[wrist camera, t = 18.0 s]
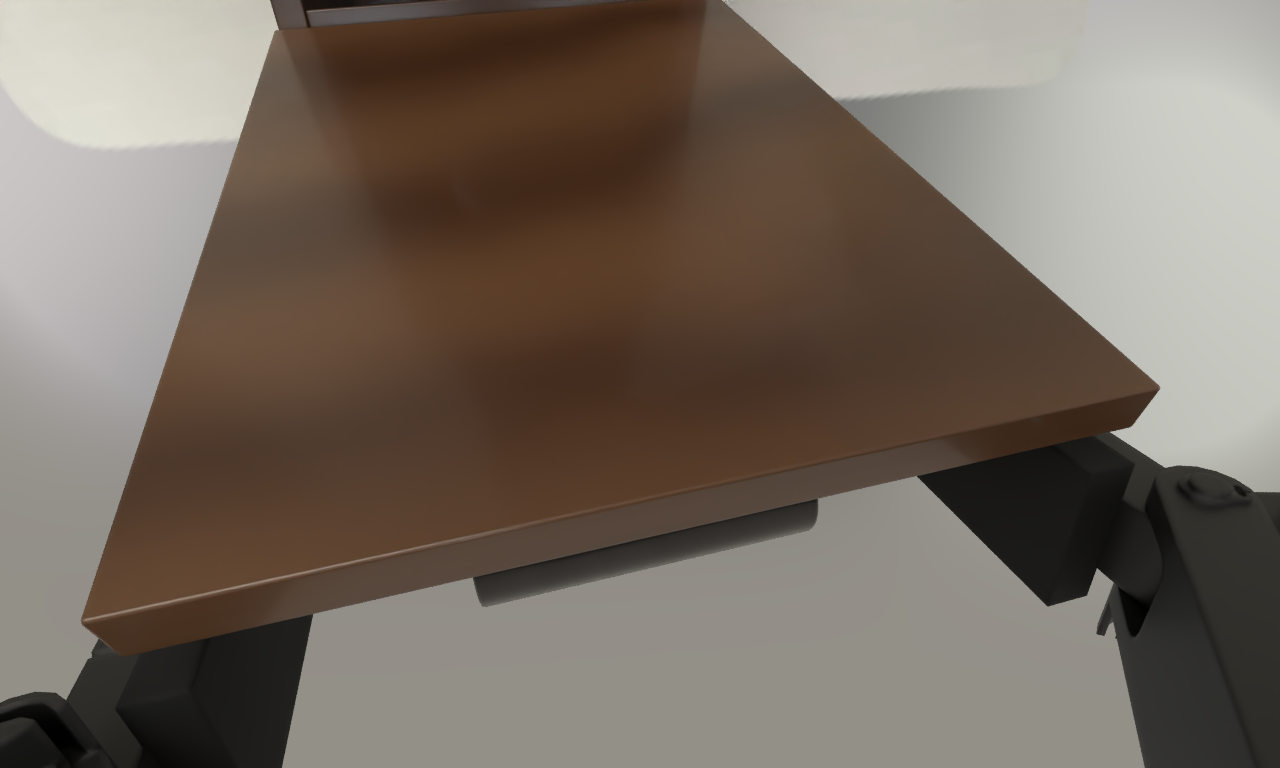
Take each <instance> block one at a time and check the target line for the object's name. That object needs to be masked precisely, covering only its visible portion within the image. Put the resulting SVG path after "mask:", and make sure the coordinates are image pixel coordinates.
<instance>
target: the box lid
mask: <svg viewBox="0 0 1280 768" xmlns="http://www.w3.org/2000/svg"><path fill="white" fill-rule="evenodd" d="M1159 390H1160V386H1159V385H1158V384H1157V383H1156V382H1154V381H1153V380H1152V379H1151V378H1150V377H1149V376H1148V375H1147V374H1145V373H1144V372H1143V371H1142V370H1141V369H1139V368H1138V367H1137V366H1136V365H1135V364H1134V363H1133V362H1132V361H1130V360H1129V359H1128V358H1127V357H1126V356H1125V355H1124V354H1123V353H1122V352H1120V351H1119V350H1118V349H1117V348H1116V347H1115V346H1113V345H1112V344H1111V343H1110V342H1109V341H1108V340H1107V339H1106V338H1105V337H1103V336H1102V335H1101V334H1100V333H1099V332H1098V331H1096V330H1095V329H1094V328H1093V327H1092V326H1091V325H1090V324H1089V323H1088V322H1086V321H1085V320H1084V319H1083V318H1082V317H1081V316H1080V315H1078V314H1077V313H1076V312H1075V311H1074V310H1073V309H1072V308H1070V307H1069V306H1068V305H1067V304H1066V303H1065V302H1064V301H1063V300H1061V299H1060V298H1059V297H1058V296H1057V295H1056V294H1054V293H1053V292H1052V291H1051V290H1050V289H1049V288H1048V287H1047V286H1046V285H1044V284H1043V283H1042V282H1041V281H1040V280H1039V279H1037V278H1036V277H1035V276H1034V275H1033V274H1032V273H1030V271H1028V270H1027V269H1026V268H1025V267H1024V266H1023V265H1022V264H1021V263H1019V262H1018V261H1017V260H1016V259H1015V258H1014V257H1013V256H1011V255H1010V254H1009V253H1008V252H1007V251H1006V250H1005V249H1004V248H1002V247H1001V246H1000V245H999V244H998V243H997V242H995V241H994V240H993V239H992V238H991V237H990V236H989V235H988V234H986V233H985V232H984V231H983V230H982V229H981V228H980V227H979V226H977V225H976V224H975V223H974V222H973V221H972V220H970V219H969V218H968V217H967V216H966V215H965V214H964V213H963V212H961V211H960V210H959V209H958V208H957V207H956V206H955V205H954V204H952V203H951V202H950V201H949V200H948V199H947V198H946V197H944V196H943V195H942V194H941V193H940V192H939V191H938V190H936V189H935V188H934V187H933V186H932V185H931V184H930V183H929V182H927V181H926V180H925V179H924V178H923V177H922V176H921V175H919V174H918V173H917V172H916V171H915V170H914V169H913V168H912V167H910V166H909V165H908V164H907V163H906V162H905V161H903V160H902V159H901V158H900V157H899V156H898V155H897V154H896V153H894V152H893V151H892V150H891V149H890V148H889V147H888V146H887V145H885V144H884V143H883V142H882V141H881V140H880V139H879V138H877V137H876V136H875V135H874V134H873V133H872V132H871V131H870V130H868V129H867V128H866V127H865V126H864V125H863V124H862V123H860V122H859V121H858V120H857V119H856V118H855V117H854V116H853V115H851V114H850V113H849V112H848V111H847V110H846V109H845V108H843V107H842V106H841V105H840V104H839V103H838V102H837V101H835V100H834V99H833V98H832V97H831V96H830V95H829V94H828V93H826V92H825V91H824V90H823V89H822V88H821V87H820V86H818V85H817V84H816V83H815V82H814V81H813V80H812V79H811V78H809V77H808V76H807V75H806V74H805V73H804V72H803V71H801V70H800V69H799V68H798V67H797V66H796V65H795V64H793V63H792V62H791V61H790V60H789V59H788V58H787V57H786V56H784V55H783V54H782V53H781V52H780V51H779V50H778V49H776V48H775V47H774V46H773V45H772V44H771V43H770V42H769V41H767V40H766V39H765V38H764V37H763V36H762V35H761V34H759V33H758V32H757V31H756V30H755V29H754V28H753V27H751V26H750V25H749V24H748V23H747V22H746V21H745V20H744V19H742V18H741V17H740V16H739V15H738V14H737V13H736V12H734V11H733V10H732V9H731V8H730V7H729V6H728V5H727V4H725V3H724V2H723V1H722V0H650V1H637V2H625V3H612V4H600V5H588V6H575V7H563V8H550V9H538V10H525V11H513V12H500V13H488V14H476V15H463V16H451V17H438V18H426V19H413V20H401V21H388V22H376V23H364V24H351V25H339V26H326V27H314V28H301V29H289V30H276V31H275V32H274V35H273V38H272V41H271V44H270V47H269V50H268V54H267V57H266V60H265V63H264V66H263V69H262V72H261V75H260V78H259V81H258V84H257V87H256V90H255V93H254V96H253V99H252V102H251V105H250V108H249V111H248V114H247V117H246V120H245V123H244V126H243V129H242V132H241V136H240V139H239V142H238V145H237V148H236V151H235V154H234V157H233V160H232V163H231V166H230V169H229V172H228V175H227V178H226V181H225V184H224V187H223V190H222V193H221V196H220V199H219V202H218V205H217V209H216V211H215V214H214V217H213V221H212V224H211V227H210V230H209V233H208V236H207V239H206V242H205V245H204V248H203V251H202V254H201V257H200V260H199V263H198V266H197V269H196V272H195V275H194V278H193V281H192V284H191V287H190V290H189V293H188V297H187V299H186V303H185V306H184V309H183V312H182V315H181V318H180V321H179V324H178V327H177V330H176V333H175V336H174V339H173V342H172V345H171V348H170V351H169V354H168V357H167V361H166V363H165V366H164V369H163V372H162V375H161V379H160V381H159V385H158V388H157V391H156V394H155V397H154V400H153V403H152V406H151V409H150V412H149V415H148V418H147V422H146V424H145V427H144V430H143V433H142V436H141V439H140V442H139V445H138V448H137V451H136V454H135V457H134V460H133V464H132V466H131V470H130V473H129V476H128V479H127V482H126V485H125V488H124V491H123V494H122V497H121V500H120V503H119V506H118V509H117V512H116V515H115V518H114V521H113V524H112V527H111V530H110V533H109V536H108V539H107V542H106V545H105V548H104V551H103V555H102V558H101V561H100V564H99V567H98V570H97V573H96V576H95V579H94V582H93V585H92V588H91V591H90V594H89V597H88V600H87V603H86V606H85V609H84V613H83V615H82V618H81V623H82V625H83V626H84V627H85V628H87V629H88V630H89V631H90V632H91V633H93V634H94V635H95V636H96V637H98V638H99V639H100V640H101V641H103V642H104V643H105V644H106V645H107V646H109V647H110V648H111V649H112V650H114V651H115V652H116V653H117V654H118V655H120V656H131V655H135V654H139V653H144V652H148V651H153V650H157V649H161V648H166V647H170V646H174V645H179V644H183V643H188V642H192V641H196V640H201V639H205V638H209V637H214V636H218V635H223V634H227V633H231V632H236V631H240V630H244V629H249V628H253V627H258V626H262V625H266V624H271V623H275V622H280V621H284V620H288V619H293V618H297V617H301V616H306V615H310V614H315V613H319V612H323V611H328V610H332V609H336V608H341V607H345V606H349V605H354V604H358V603H363V602H367V601H371V600H376V599H380V598H384V597H389V596H393V595H398V594H402V593H406V592H411V591H415V590H419V589H424V588H428V587H433V586H437V585H441V584H445V583H450V582H455V581H459V580H463V579H468V578H472V577H473V580H474V584H475V589H476V592H477V596H478V599H479V601H480V603H481V605H482V606H483V607H488V606H492V605H496V604H500V603H505V602H509V601H513V600H518V599H522V598H526V597H530V596H534V595H539V594H543V593H547V592H551V591H556V590H560V589H564V588H568V587H572V586H576V585H581V584H585V583H589V582H594V581H598V580H602V579H606V578H610V577H615V576H619V575H623V574H627V573H632V572H636V571H640V570H644V569H648V568H653V567H657V566H660V565H665V564H669V563H674V562H678V561H682V560H686V559H690V558H695V557H699V556H703V555H707V554H712V553H716V552H720V551H724V550H729V549H733V548H737V547H741V546H745V545H750V544H754V543H758V542H762V541H766V540H770V539H775V538H779V537H783V536H787V535H792V534H796V533H800V532H804V531H808V530H810V529H811V528H812V527H813V526H814V525H815V523H816V520H817V515H818V498H822V497H827V496H831V495H835V494H839V493H844V492H848V491H852V490H857V489H862V488H865V487H870V486H875V485H879V484H883V483H888V482H892V481H897V480H901V479H905V478H910V477H914V476H919V475H923V474H927V473H932V472H936V471H940V470H945V469H949V468H954V467H958V466H962V465H967V464H971V463H975V462H980V461H984V460H989V459H993V458H997V457H1002V456H1006V455H1010V454H1015V453H1019V452H1024V451H1028V450H1032V449H1037V448H1041V447H1046V446H1050V445H1054V444H1059V443H1063V442H1067V441H1072V440H1076V439H1081V438H1085V437H1089V436H1094V435H1098V434H1102V433H1107V432H1111V431H1116V430H1120V429H1124V428H1129V427H1131V426H1132V425H1133V424H1134V423H1135V421H1136V420H1137V419H1138V417H1139V416H1140V415H1141V413H1142V412H1143V411H1144V409H1145V408H1146V407H1147V405H1148V404H1149V403H1150V402H1151V400H1152V399H1153V398H1154V396H1155V395H1156V394H1157V392H1158V391H1159Z"/></svg>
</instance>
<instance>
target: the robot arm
mask: <svg viewBox="0 0 1280 768" xmlns="http://www.w3.org/2000/svg"><path fill="white" fill-rule="evenodd" d="M917 477H918V478H919V479H920V480H921V481H922V482H923V483H924V484H925V485H926V486H927V487H928V488H929V489H930V490H931V491H932V492H933V493H934V494H935V495H936V496H937V497H938V498H939V499H940V500H941V501H942V502H943V503H944V504H945V505H946V506H947V507H948V508H949V509H950V510H951V511H952V512H954V514H955V515H956V516H957V517H958V518H959V519H960V520H961V521H962V522H963V523H964V524H965V525H966V526H968V528H969V529H970V530H971V531H972V532H973V533H974V534H975V535H976V536H978V538H979V539H980V540H981V541H982V542H983V543H984V544H985V545H986V546H987V547H988V548H989V549H990V550H991V551H992V552H993V553H994V554H995V555H997V556H998V558H999V559H1001V560H1002V562H1003V563H1004V564H1005V565H1007V566H1008V567H1009V569H1010V570H1011V571H1012V572H1013V573H1014V574H1015V575H1017V576H1018V577H1019V578H1020V579H1021V580H1022V581H1023V582H1024V583H1025V584H1026V585H1027V586H1028V587H1029V588H1030V589H1031V590H1032V591H1033V592H1034V593H1035V594H1036V595H1037V596H1038V597H1039V598H1040V599H1041V600H1042V601H1043V602H1044V603H1045V604H1046V605H1047V606H1051V605H1055V604H1058V603H1062V602H1066V601H1069V600H1073V599H1076V598H1080V597H1084V596H1087V594H1088V591H1089V588H1090V585H1091V583H1092V580H1093V577H1094V574H1095V572H1096V569H1097V568H1098V569H1099V570H1100V571H1101V572H1102V573H1103V574H1105V575H1106V576H1107V577H1108V578H1109V579H1110V580H1112V581H1113V582H1114V584H1113V586H1112V589H1111V591H1110V594H1109V597H1108V599H1107V602H1106V604H1105V607H1104V610H1103V612H1102V614H1101V617H1100V620H1099V622H1098V626H1097V634H1098V635H1103V636H1104V635H1105V633H1106V630H1107V628H1108V625H1109V624H1110V623H1112V622H1113V623H1114V626H1115V632H1116V639H1117V641H1118V646H1119V650H1120V655H1121V660H1122V664H1123V669H1124V673H1125V678H1126V682H1127V687H1128V692H1129V696H1130V701H1131V706H1132V710H1133V715H1134V719H1135V724H1136V729H1137V734H1138V738H1139V742H1140V748H1141V752H1142V757H1143V761H1144V766H1145V768H1280V493H1276V492H1274V493H1273V492H1272V493H1271V492H1253V491H1252V490H1251V489H1250V488H1248V487H1247V486H1245V485H1244V484H1242V483H1241V482H1239V481H1237V480H1236V479H1234V478H1231V477H1229V476H1226V475H1224V474H1221V473H1219V472H1217V471H1212V470H1208V469H1204V468H1200V467H1193V466H1173V467H1168V468H1164V467H1163V466H1161V465H1160V464H1158V463H1157V462H1155V461H1153V460H1152V459H1150V458H1149V457H1147V456H1146V455H1144V454H1143V453H1141V452H1140V451H1138V450H1136V449H1135V448H1133V447H1132V446H1130V445H1129V444H1127V443H1126V442H1124V441H1122V440H1121V439H1119V438H1118V437H1116V436H1115V435H1113V434H1112V433H1110V432H1107V433H1102V434H1098V435H1094V436H1089V437H1085V438H1081V439H1076V440H1072V441H1067V442H1063V443H1059V444H1054V445H1050V446H1046V447H1041V448H1037V449H1032V450H1028V451H1024V452H1019V453H1015V454H1010V455H1006V456H1002V457H997V458H993V459H989V460H984V461H980V462H975V463H971V464H967V465H962V466H958V467H954V468H949V469H945V470H940V471H936V472H932V473H927V474H923V475H919V476H917ZM312 617H313V614H310V615H306V616H301V617H297V618H293V619H288V620H284V621H280V622H275V623H271V624H266V625H262V626H258V627H253V628H249V629H244V630H240V631H236V632H231V633H227V634H223V635H218V636H214V637H209V638H205V639H201V640H196V641H192V642H188V643H183V644H179V645H174V646H170V647H166V648H161V649H157V650H153V651H148V652H144V653H139V654H135V655H131V656H120V655H118V654H117V653H116V652H115V651H114V650H112V649H111V648H110V647H109V646H107V645H106V644H105V643H104V642H103V641H101V640H100V639H98V641H97V643H96V645H95V647H94V649H93V651H92V658H90V659H88V660H87V662H86V664H85V666H84V668H83V670H82V671H81V673H80V675H79V677H78V679H77V681H76V683H75V685H74V687H73V688H72V690H71V692H70V694H69V696H68V698H67V700H65V699H63V698H62V697H61V696H59V695H58V694H57V693H49V692H48V693H47V692H33V693H29V694H26V695H21V696H18V697H14V698H10V699H8V700H5V701H3V702H1V703H0V768H282V764H283V759H284V754H285V749H286V744H287V739H288V735H289V730H290V725H291V720H292V715H293V710H294V705H295V700H296V695H297V691H298V686H299V680H300V676H301V671H302V666H303V661H304V656H305V651H306V646H307V641H308V636H309V632H310V627H311V622H312Z"/></svg>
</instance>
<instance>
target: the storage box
mask: <svg viewBox="0 0 1280 768" xmlns="http://www.w3.org/2000/svg"><path fill="white" fill-rule="evenodd" d="M270 1H271V5H272V8H273V11H274V15H275V18H276V22H277V25H278V29H279V30H289V29H301V28H314V27H326V26H339V25H351V24H364V23H376V22H388V21H401V20H413V19H426V18H438V17H451V16H463V15H476V14H488V13H500V12H513V11H525V10H538V9H550V8H563V7H575V6H588V5H600V4H612V3H625V2H637V1H650V0H270Z"/></svg>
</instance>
